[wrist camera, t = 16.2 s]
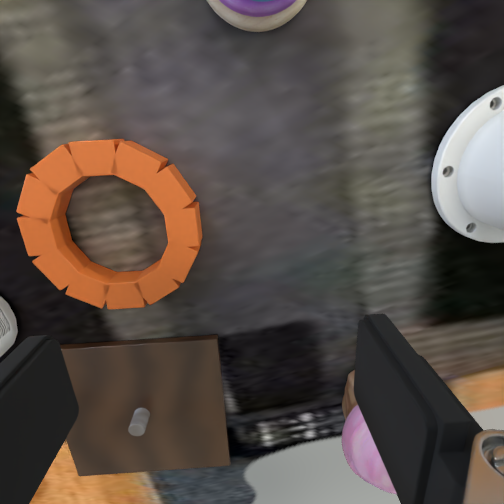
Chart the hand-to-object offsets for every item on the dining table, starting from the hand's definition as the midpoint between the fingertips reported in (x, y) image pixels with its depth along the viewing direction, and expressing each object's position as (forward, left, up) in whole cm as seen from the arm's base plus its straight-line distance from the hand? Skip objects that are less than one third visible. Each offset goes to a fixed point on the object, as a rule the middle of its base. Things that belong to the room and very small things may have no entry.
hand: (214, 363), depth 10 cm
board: (+10, +20, -18) cm, 29 cm away
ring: (+9, 0, -17) cm, 19 cm away
